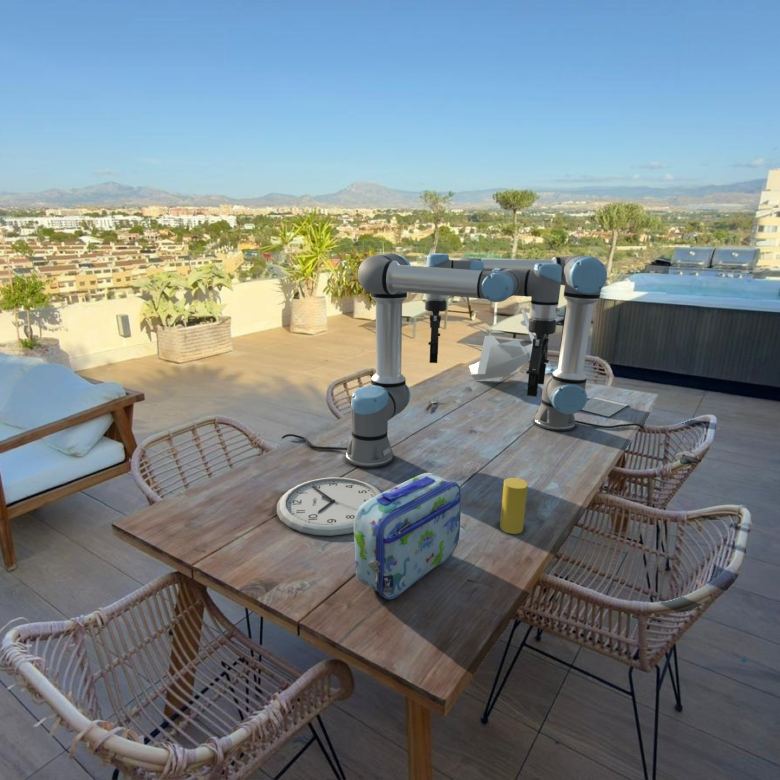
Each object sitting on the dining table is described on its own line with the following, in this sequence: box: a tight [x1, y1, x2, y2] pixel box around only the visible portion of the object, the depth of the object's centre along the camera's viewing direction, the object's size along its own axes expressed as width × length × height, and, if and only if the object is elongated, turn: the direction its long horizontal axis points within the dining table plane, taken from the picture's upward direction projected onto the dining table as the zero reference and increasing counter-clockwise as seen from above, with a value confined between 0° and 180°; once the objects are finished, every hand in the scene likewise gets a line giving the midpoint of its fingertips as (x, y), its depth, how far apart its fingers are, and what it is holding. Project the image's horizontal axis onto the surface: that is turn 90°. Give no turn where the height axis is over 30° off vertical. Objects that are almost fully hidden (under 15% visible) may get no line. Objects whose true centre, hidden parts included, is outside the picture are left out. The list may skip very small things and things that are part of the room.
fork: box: [425, 395, 439, 411], centre depth 223 cm, size 3×16×2 cm, turn 160°
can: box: [499, 477, 529, 535], centre depth 132 cm, size 6×6×13 cm
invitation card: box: [581, 396, 629, 418], centre depth 226 cm, size 21×1×15 cm
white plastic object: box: [468, 308, 552, 391], centre depth 254 cm, size 37×45×31 cm
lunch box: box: [353, 472, 462, 600], centre depth 112 cm, size 26×11×21 cm, turn 134°
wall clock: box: [276, 476, 383, 537], centre depth 142 cm, size 30×2×30 cm
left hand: (535, 389), depth 156 cm, fingers open, 13 cm apart
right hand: (433, 358), depth 189 cm, fingers open, 13 cm apart
